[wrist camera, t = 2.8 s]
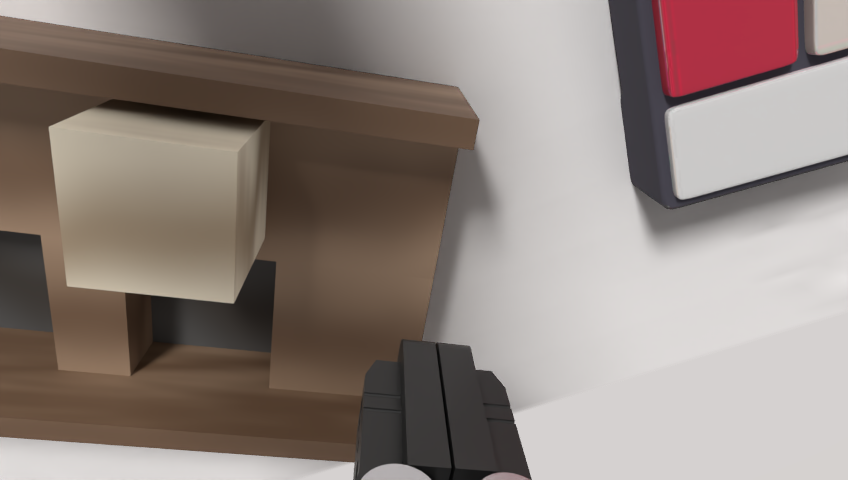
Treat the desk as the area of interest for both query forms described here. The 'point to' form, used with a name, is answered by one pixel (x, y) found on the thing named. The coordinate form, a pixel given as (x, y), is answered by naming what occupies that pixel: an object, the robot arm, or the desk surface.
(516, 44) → the desk surface
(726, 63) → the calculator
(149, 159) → the birch block
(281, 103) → the trap track
